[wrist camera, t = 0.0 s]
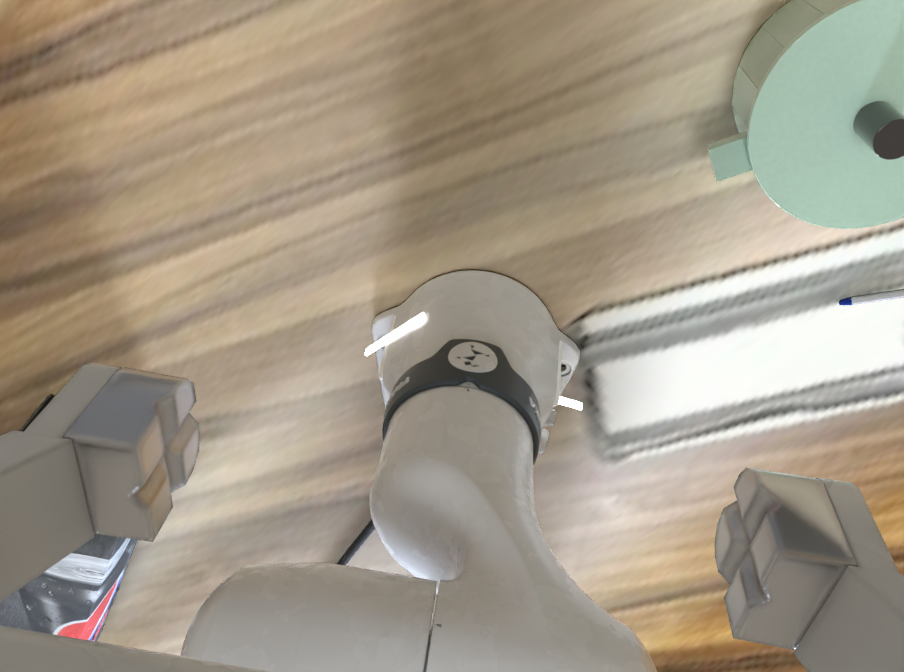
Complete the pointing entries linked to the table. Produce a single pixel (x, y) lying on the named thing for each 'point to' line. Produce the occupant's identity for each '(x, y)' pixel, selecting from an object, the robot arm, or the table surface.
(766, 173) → the pot lid
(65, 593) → the soda box
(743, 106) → the pot
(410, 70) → the table surface
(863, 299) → the ballpoint pen
